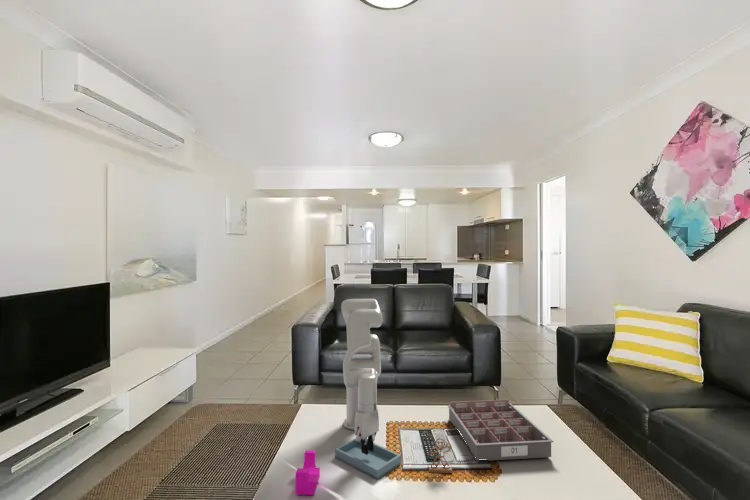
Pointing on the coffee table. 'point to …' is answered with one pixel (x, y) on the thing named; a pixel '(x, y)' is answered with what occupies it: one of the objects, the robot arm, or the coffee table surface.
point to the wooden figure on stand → (437, 469)
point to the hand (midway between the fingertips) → (367, 451)
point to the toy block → (307, 474)
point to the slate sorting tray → (368, 459)
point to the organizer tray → (498, 430)
